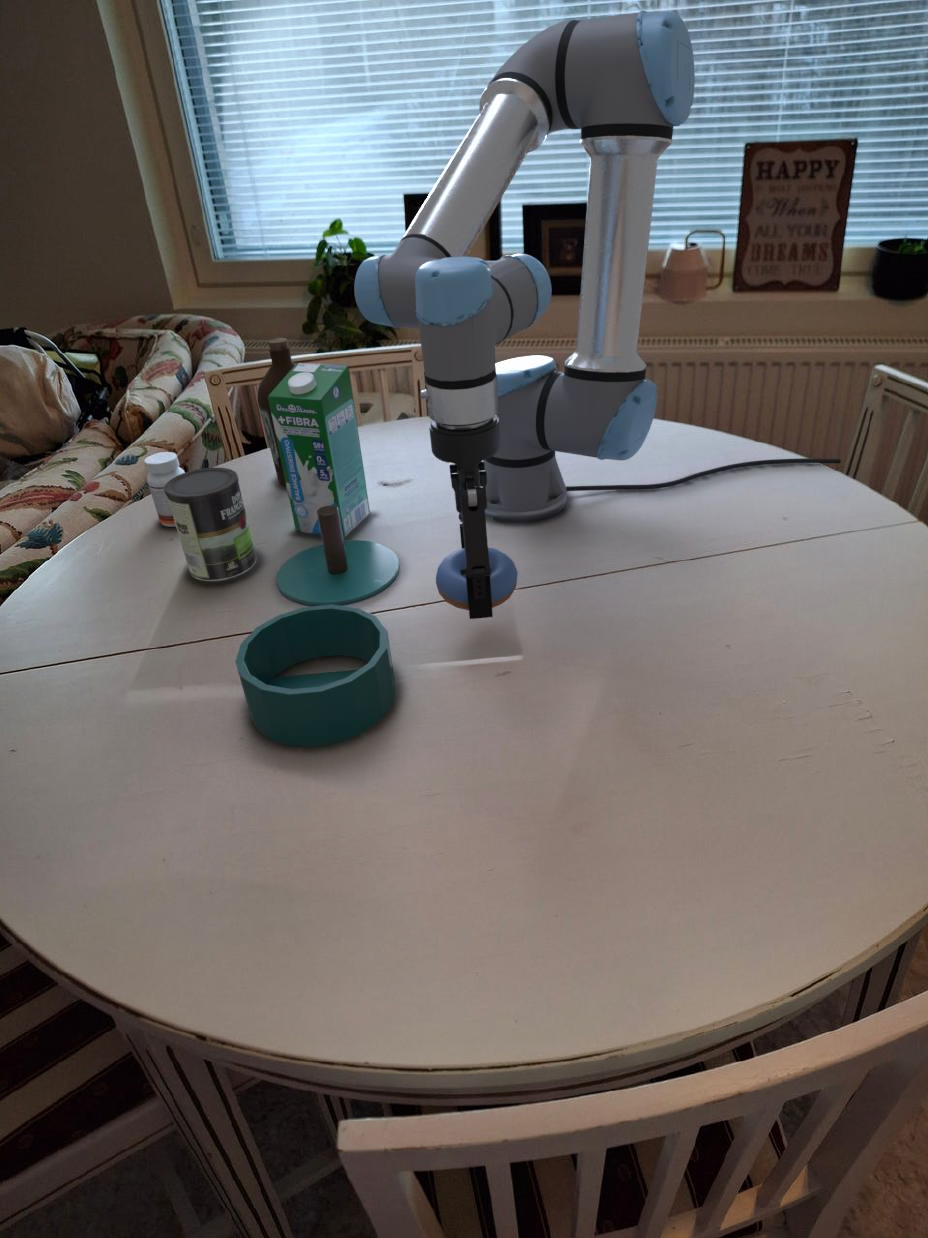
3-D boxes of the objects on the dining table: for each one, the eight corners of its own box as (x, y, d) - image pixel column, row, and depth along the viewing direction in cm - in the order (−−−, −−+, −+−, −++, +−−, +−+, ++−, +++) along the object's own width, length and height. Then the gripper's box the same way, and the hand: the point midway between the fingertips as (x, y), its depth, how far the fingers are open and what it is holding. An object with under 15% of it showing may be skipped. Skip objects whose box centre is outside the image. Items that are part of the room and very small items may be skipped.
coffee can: (268, 551, 125) (249, 467, 117) (240, 586, 117) (217, 497, 109) (208, 548, 127) (185, 465, 119) (176, 582, 119) (149, 495, 111)
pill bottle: (193, 508, 140) (176, 447, 134) (200, 522, 135) (182, 459, 129) (157, 517, 138) (138, 455, 132) (163, 531, 133) (143, 468, 127)
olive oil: (330, 463, 153) (307, 328, 139) (335, 485, 144) (311, 343, 130) (274, 471, 151) (245, 336, 137) (276, 494, 143) (245, 352, 129)
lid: (400, 541, 125) (392, 478, 119) (399, 603, 110) (390, 534, 104) (285, 552, 125) (272, 488, 119) (270, 615, 110) (253, 546, 104)
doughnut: (505, 621, 93) (503, 588, 91) (425, 611, 96) (421, 578, 94) (527, 576, 101) (526, 545, 98) (452, 568, 104) (449, 537, 101)
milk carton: (295, 533, 130) (263, 379, 116) (324, 509, 136) (297, 361, 122) (344, 540, 126) (317, 383, 112) (371, 515, 133) (348, 364, 119)
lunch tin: (395, 649, 101) (388, 599, 97) (394, 739, 87) (386, 685, 83) (262, 661, 101) (249, 611, 97) (240, 753, 87) (223, 700, 83)
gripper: (425, 386, 95) (443, 549, 108) (431, 463, 76) (451, 649, 89) (488, 379, 95) (498, 543, 108) (510, 455, 76) (519, 643, 89)
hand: (477, 591), depth 98 cm, fingers closed on doughnut, 10 cm apart
